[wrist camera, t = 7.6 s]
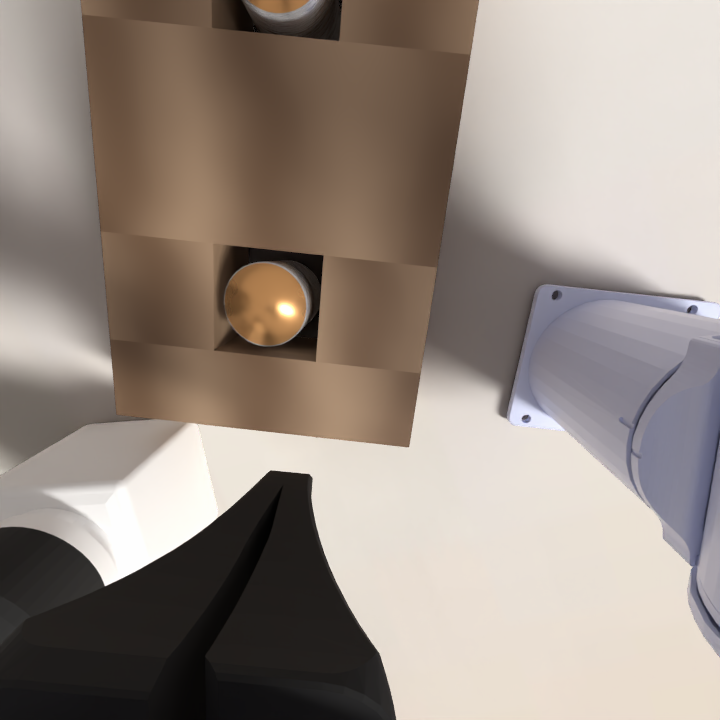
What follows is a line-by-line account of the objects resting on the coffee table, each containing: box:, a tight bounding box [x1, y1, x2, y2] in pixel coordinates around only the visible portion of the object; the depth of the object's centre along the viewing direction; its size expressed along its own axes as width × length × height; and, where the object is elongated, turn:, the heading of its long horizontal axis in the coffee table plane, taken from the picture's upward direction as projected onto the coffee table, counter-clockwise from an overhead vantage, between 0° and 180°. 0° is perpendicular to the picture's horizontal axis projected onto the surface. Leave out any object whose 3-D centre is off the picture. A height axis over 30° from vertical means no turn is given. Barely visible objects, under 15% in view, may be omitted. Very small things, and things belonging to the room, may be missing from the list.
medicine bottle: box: [0, 419, 218, 644], centre depth 18 cm, size 7×7×12 cm
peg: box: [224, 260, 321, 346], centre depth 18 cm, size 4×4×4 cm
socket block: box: [81, 0, 479, 447], centre depth 16 cm, size 14×24×4 cm, turn 174°
